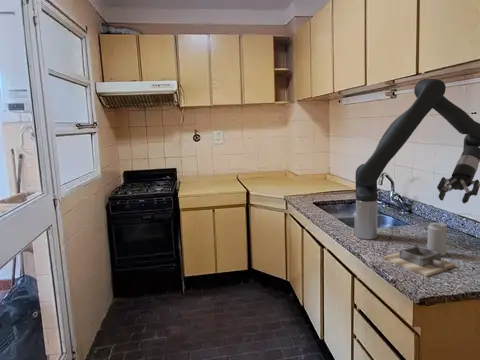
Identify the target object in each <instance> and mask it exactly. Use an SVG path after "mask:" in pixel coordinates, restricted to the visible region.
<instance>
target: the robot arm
mask: <svg viewBox="0 0 480 360" xmlns="http://www.w3.org/2000/svg"><path fill="white" fill-rule="evenodd" d="M413 93H414V95H415V97H416V99H415V100H414V102H413V103H412V105H411V106H410V107H409V108H408V109H407V110H405V111H404V112H402V114H400V115H399V116H398V117H397V118H395V119H393V122H391V124H390V125H389V126H388V128H387V129H386V130H385V132H384V133H383V135H382V136H381V138H380V140H379V142H378V144H377V145H376V148H375V150H374V151H373V153H372V154H371V156H370V157H369V158H368V159H367V161H365V163H361V164H360V165H359V166H358V167H357V168H356V170H355V179H354V180H355V214H354V216H353V218H354V221H353V222H354V223H353V224H354V225H353V226H354V231H353V232H354V236H355V237H356V238H357V239H361V240H375V239H377V238H378V221H379V220H378V213H379V212H378V208H379V207H378V206H379V205H378V203H379V202H378V201H379V197H378V196H379V195H378V180H379V179H380V177H381V175H382V174H383V172H384V170H385V168H386V167H387V165H388V164H389V163H390V161H391V160H392V159H393V158H394V157H395V156H396V155H397V154H398V153H399V151H400V150H401V149H402V148H403V146H404V145H405V144H406V142H407V141H408V140H409V139H410V137H411V136H412V135H413V133H414V132H415V131H416V129H417V128H418V127H419V126H420V124H421V122H422V121H423V120H424V118H425V117H427V115H428V114H429V113H430V112H431V110H432V109H433V110H434V111H436V112H437V113H438V114H439V116H441V117H442V118H443V119H445V121H447V122H448V123H449V124H450V125H451V127H452V128H454V129H455V130H456V131H457V132H458V133H459V134H461V135H465V137H464V138H463V147H462V149H463V151H462V152H461V154H460V157H459V158H458V160H457V162H456V164H455V167H454V169H453V172H452V173H451V177H450V178H446V177H444V176H443V177H441V179H440V181H439V183H438V184H437V187H436V189H437V190H438V192H439V194H438V198H439V201H444V199H445V197H446V193H448V192H451V191H452V190H454V191H455V190H457V191H463V190H464V191H465V192H464V194H463V197H462V199H461V202H462V204H466V203H469V200H470V197H471V196H474V197H476V196H478V193H479V190H480V180H479V179H475V178H474V177H475V176H476V173H477V172H478V169H479V164H480V122H478V121H476V120H474V119H473V118H472V117H471V116H470V115H469V114H468V112H466V111H465V110H463V109H462V108H460V106H458V105H456V104H455V103H453V102H451V101H450V100H449V99H448V98H447V97H445V93H446V84H445V82H444V80H441V79H438V78H423V79H420V80H418V82H417V83H416V84H415V86H414V89H413ZM474 179H475V180H474ZM472 185H473V187H472V189H471V190H470V189H469V187H470V186H472Z"/></svg>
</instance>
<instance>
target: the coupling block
mask: <svg viewBox="0 0 480 360" xmlns="http://www.w3.org/2000/svg"><path fill="white" fill-rule="evenodd" d="M382 260H384V261H386V262H390V263H392V264H395V265H396V266H399V267H402V268H404V269H407V270H409V271H411V272H414V273H416V274H419V275H422V276H424V277H429V276H432V275H434V274H438V273H441V272H444V271H447V270H450V269H453V268H455V267H456V264H455V263H453V262H450V261H447V260H444V259H442V256H441V253H438V252H435V251H432V250H429V249H427V247H422V246H420V245H416V246H415V245H414V246H411V247H409V248H403V247H398V248H397V252H395V253H392V254H388V255H385V256H383V259H382Z"/></svg>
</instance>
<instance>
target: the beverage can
mask: <svg viewBox="0 0 480 360" xmlns="http://www.w3.org/2000/svg"><path fill="white" fill-rule="evenodd" d="M447 236H448V228H447V224H445V223H441V222H429V223H428V226H427V239H426V240H427V242H426V244H427V246H426V249H429V250H432V251H435V252H438V253H441V257H443V256H446V254H447V238H448V237H447Z"/></svg>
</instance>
